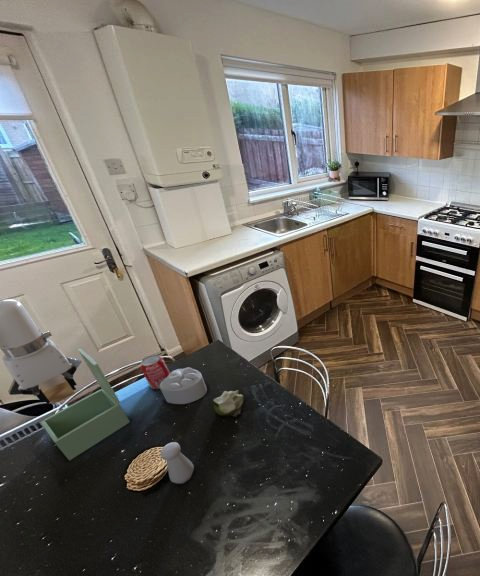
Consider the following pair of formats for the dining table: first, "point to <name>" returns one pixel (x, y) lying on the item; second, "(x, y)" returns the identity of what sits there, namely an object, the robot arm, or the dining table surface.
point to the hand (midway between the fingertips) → (60, 394)
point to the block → (56, 389)
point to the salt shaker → (177, 463)
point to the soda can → (154, 370)
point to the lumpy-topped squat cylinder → (183, 386)
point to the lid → (99, 375)
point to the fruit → (228, 403)
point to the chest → (85, 423)
